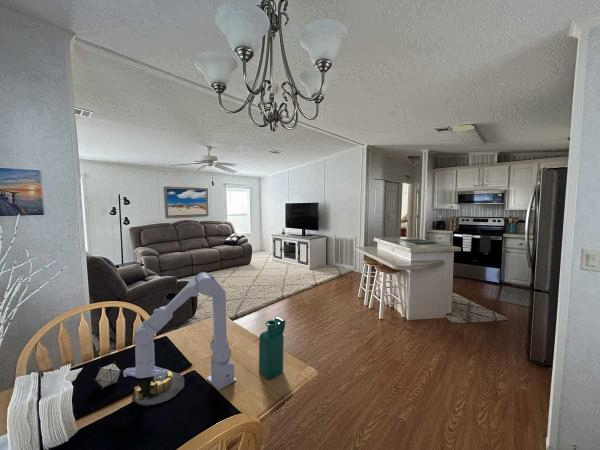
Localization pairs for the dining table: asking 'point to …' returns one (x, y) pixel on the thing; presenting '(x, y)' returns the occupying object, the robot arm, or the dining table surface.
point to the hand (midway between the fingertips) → (146, 395)
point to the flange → (163, 396)
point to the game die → (108, 375)
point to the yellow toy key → (157, 385)
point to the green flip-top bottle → (272, 349)
